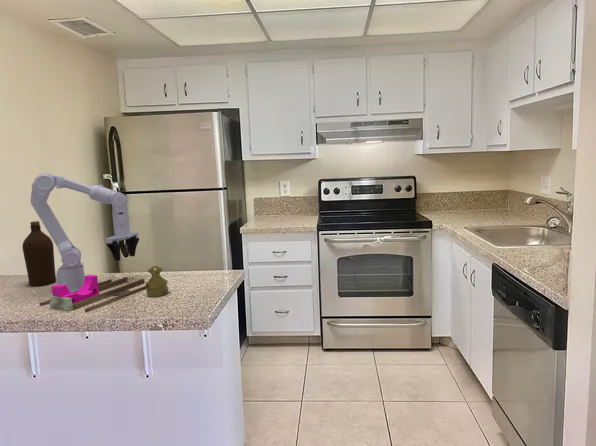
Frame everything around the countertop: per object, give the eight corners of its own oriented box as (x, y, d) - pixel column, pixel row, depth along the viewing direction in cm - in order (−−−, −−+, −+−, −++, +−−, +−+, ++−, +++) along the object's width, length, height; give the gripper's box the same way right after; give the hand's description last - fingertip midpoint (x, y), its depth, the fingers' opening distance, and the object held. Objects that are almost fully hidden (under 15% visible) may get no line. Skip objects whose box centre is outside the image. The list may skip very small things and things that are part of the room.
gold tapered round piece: (168, 290, 163) (165, 262, 162) (168, 295, 156) (166, 267, 155) (146, 292, 161) (144, 265, 160) (146, 298, 154) (143, 269, 153)
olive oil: (58, 283, 180) (50, 221, 176) (27, 288, 175) (18, 224, 171) (57, 278, 189) (49, 219, 185) (28, 282, 184) (19, 221, 180)
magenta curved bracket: (67, 310, 146) (64, 287, 145) (54, 308, 149) (51, 286, 148) (104, 296, 160) (102, 275, 159) (91, 295, 162) (89, 274, 161)
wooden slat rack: (37, 306, 151) (36, 294, 150) (114, 280, 180) (113, 270, 180) (84, 312, 142) (83, 300, 141) (157, 284, 171) (156, 274, 171)
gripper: (114, 226, 166) (118, 263, 168) (142, 221, 179) (146, 254, 181) (100, 226, 169) (104, 262, 171) (129, 220, 182) (132, 254, 184)
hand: (125, 258), depth 176 cm, fingers open, 7 cm apart
